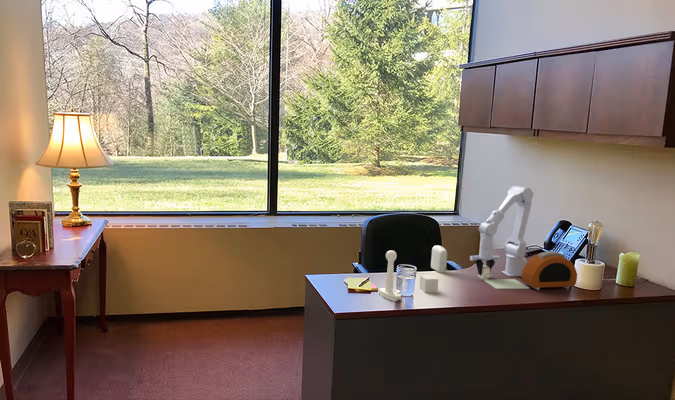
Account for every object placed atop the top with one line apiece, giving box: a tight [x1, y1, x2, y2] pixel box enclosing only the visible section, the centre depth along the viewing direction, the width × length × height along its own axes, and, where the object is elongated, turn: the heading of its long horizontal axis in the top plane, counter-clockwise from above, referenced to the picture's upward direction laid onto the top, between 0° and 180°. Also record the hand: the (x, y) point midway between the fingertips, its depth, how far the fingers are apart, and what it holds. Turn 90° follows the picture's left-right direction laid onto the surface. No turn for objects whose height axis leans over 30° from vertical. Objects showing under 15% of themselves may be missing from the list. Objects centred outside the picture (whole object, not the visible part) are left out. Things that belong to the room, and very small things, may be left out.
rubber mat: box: [483, 278, 530, 290], centre depth 241 cm, size 16×13×1 cm
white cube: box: [419, 274, 439, 293], centre depth 228 cm, size 6×6×6 cm
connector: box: [477, 263, 493, 281], centre depth 249 cm, size 3×11×6 cm, turn 10°
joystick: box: [378, 250, 402, 302], centre depth 216 cm, size 11×8×20 cm
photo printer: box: [430, 245, 448, 274], centre depth 259 cm, size 10×4×12 cm, turn 17°
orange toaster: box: [521, 250, 578, 291], centre depth 240 cm, size 23×9×17 cm, turn 103°
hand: (483, 274), depth 251 cm, fingers open, 3 cm apart
